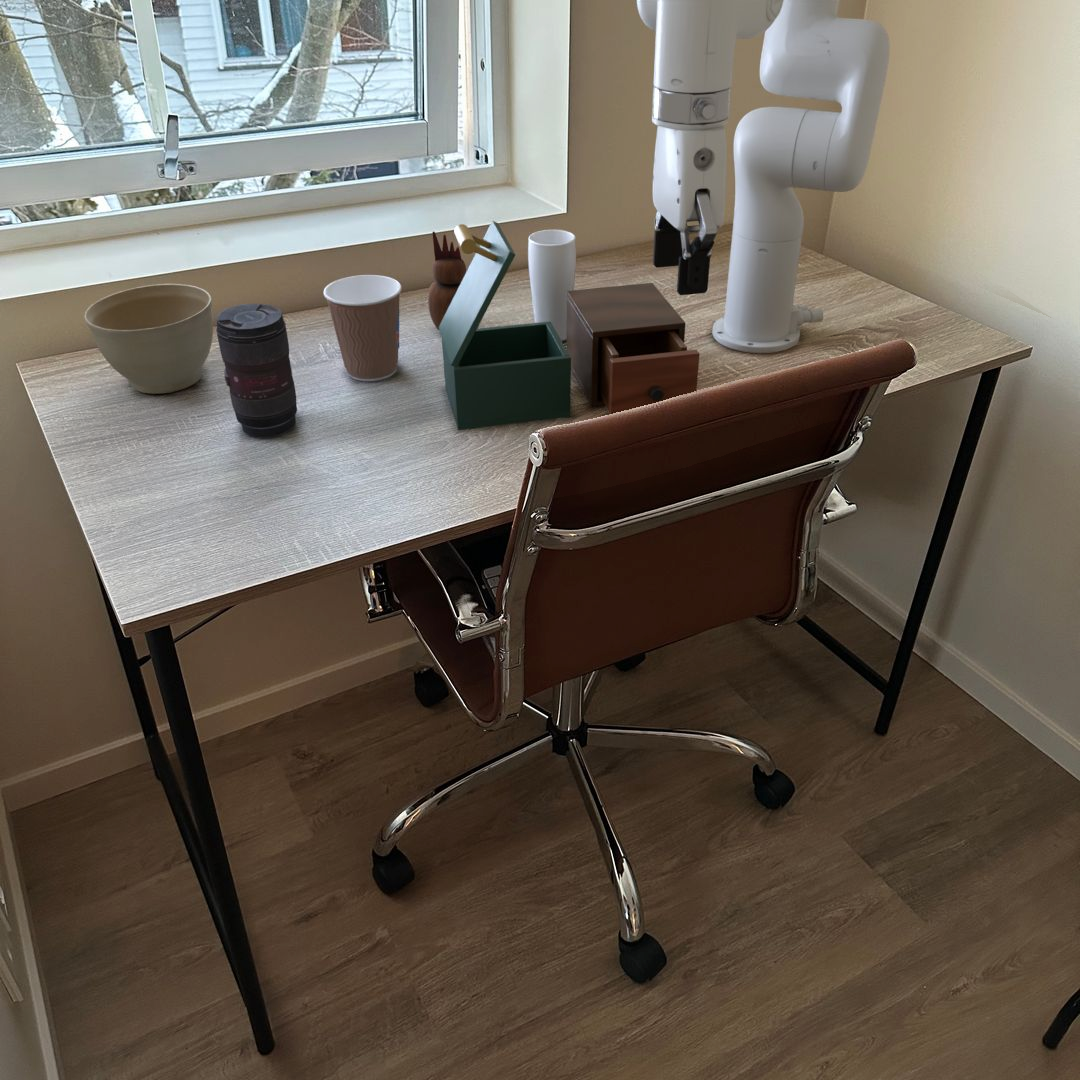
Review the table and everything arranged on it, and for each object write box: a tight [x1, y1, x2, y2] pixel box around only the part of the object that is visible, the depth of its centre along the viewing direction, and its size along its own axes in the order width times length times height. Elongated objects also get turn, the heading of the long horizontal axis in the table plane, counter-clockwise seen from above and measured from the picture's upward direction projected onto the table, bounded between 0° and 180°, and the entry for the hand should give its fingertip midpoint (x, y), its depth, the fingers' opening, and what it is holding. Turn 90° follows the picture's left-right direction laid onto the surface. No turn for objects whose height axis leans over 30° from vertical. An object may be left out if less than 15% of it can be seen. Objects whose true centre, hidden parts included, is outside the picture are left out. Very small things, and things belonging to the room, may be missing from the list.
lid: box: [438, 220, 516, 367], centre depth 124 cm, size 15×12×5 cm
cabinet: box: [566, 282, 686, 409], centre depth 136 cm, size 14×12×11 cm
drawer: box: [597, 330, 700, 415], centre depth 129 cm, size 14×11×9 cm
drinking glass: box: [527, 229, 577, 342], centre depth 147 cm, size 7×7×15 cm
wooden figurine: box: [427, 231, 467, 331], centre depth 149 cm, size 7×6×15 cm
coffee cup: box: [323, 274, 402, 382], centre depth 139 cm, size 10×10×12 cm
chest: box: [441, 322, 572, 431], centre depth 132 cm, size 15×12×8 cm
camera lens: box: [215, 303, 298, 439], centre depth 126 cm, size 8×8×15 cm
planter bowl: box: [84, 283, 214, 395], centre depth 138 cm, size 16×16×11 cm
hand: (679, 278), depth 110 cm, fingers open, 7 cm apart
